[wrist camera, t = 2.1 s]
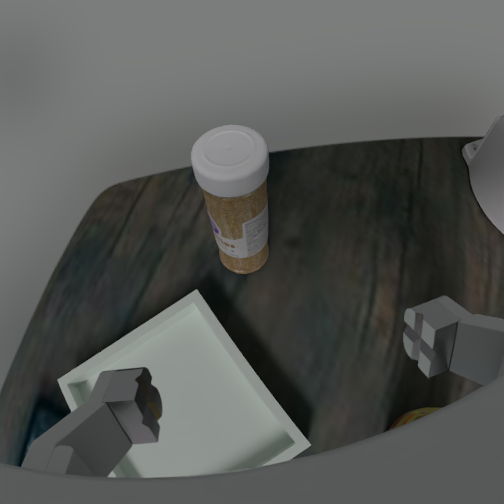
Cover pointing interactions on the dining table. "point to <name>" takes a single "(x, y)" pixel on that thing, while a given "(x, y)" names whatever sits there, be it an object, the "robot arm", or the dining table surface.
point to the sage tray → (194, 397)
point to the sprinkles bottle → (235, 193)
